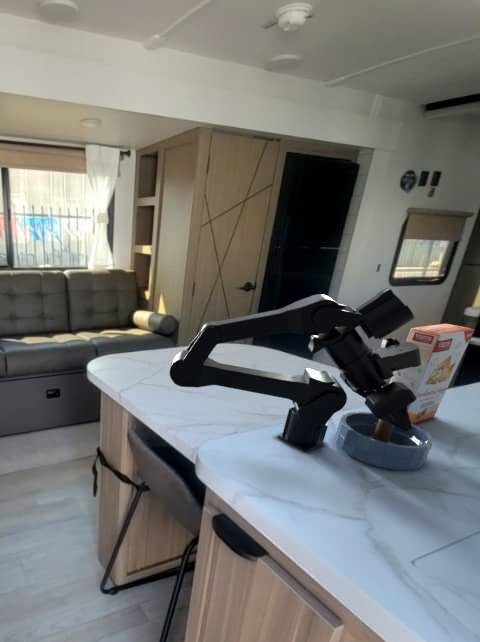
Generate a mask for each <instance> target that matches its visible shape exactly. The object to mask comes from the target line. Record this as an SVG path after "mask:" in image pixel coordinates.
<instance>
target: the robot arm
mask: <svg viewBox="0 0 480 642" xmlns="http://www.w3.org/2000/svg"><path fill="white" fill-rule="evenodd" d="M412 321H415V315H414V313H413V312H412V310H411V308H410V307H409V306H408V305H407V304H405V303H404V302H403V301H402V300H401V299H400V298H399V297H398V296H397V295H396V294H395V293H394V291H393V290H392V289H391V288H388V287H385V288H383V289H381V290H380V291H378V292H377V293H376V294H375V295H374V296H373V297H371V298H370V299H367V301H365V302H364V303H362V304H360V305H359V306H358V307H356V308H354V307H352V306H351V305H349V304H347V305H344V304H340V303H338V302H337V301H335V300H334V299H333V298H331V297H330V296H328V295H326V294H321V293H320V294H319V293H318V294H314V295H313V294H312V295H310V296H308V297H304V298H302V299H300V300H296V301H294V302H292V303H290V304H288V305H286V306H284V307H282V308H281V307H280V308H279V309H274V310H269V311H268V310H267V311H264V312H258V313H253V314H249V315H243V316H238V317H237V316H236V317H233V318H228V319H222V320H216V321H214V320H211V321H207V322H205V324H204V325H203V326H202V328H201V330H200V331H199V332H198V334H197V335H196V336H195V337H194V338H193V340H192V341H191V342H190V343H189V345H188V346H187V347H186V349H184V350H181V351H179V352H178V353H176V354H175V356H174V358H173V360H172V363H171V365H170V368H169V377H170V380H171V381H172V382H173V384H175V385H176V386H178V387H181V388H205V387H209V386H218V387H223V388H229V389H234V390H239V391H243V392H250V393H254V394H259V395H265V396H270V397H276V398H282V399H287V400H289V401H292V404H293V406H292V407H290V408H288V412H287V415H286V418H285V423H284V426H283V430H282V433H279V434H277V439H279V440H281V441H284V442H286V443H288V444H290V445H292V446H294V447H296V448H298V449H300V450H302V451H304V452H309V451H310V450H313V449H315V448H317V447H320V446H322V445H324V444H325V437H326V434H327V431H328V428H329V426H328V424H327V423H328V422H329V421H330V419H332V417H333V415H335V414H336V413H338V412H340V411H341V410H342V409H343V408H344V407H345V406H346V404H347V401H348V394H347V393H346V391H345V389H344V388H343V387H342V385H341V384H340V382H339V380H337V379H336V377H335V376H333V375H331V374H330V373H329V371H328V370H315V369H313V368H309V367H305V368H304V370H303V371H304V372H303V374H298V375H289V374H284V373H278V372H272V371H267V370H260V369H255V368H250V367H243V366H238V365H233V364H228V363H220V362H219V361H216V360H214V359H212V358H210V355H211V354H212V352H213V351H214V349H215V348H216V346H217V345H219V344H225V343H231V342H235V341H236V342H237V341H241V340H247V339H254V338H259V337H264V336H270V335H276V334H285V333H291V334H301V335H308V334H309V335H310V341H309V344H308V346H307V348H308V349H309V351H310V352H311V354H317V353H318V352H320V351H322V350H323V351H324V352H325V353H326V354H327V356H328V357H329V359H331V361H332V362H333V364H334V366H335V367H336V369H337V370H338V371H339V372H340V373H339V378H340V379H341V380H342V382H343V383H344V384H345V385H346V387H348V388H349V390H351V391H352V392H353V393H354V394H357V395H358V396H360V397H362V398H364V399H365V401H364V405H365V406H366V407H367V408H368V410H369V412H371V413H373V414H374V415H375V417H376V418H377V419H382V420H384V421H386V422H388V423H390V424H392V425H394V426H396V427H398V428H400V429H402V430H404V431H409V430H411V429H412V424H411V421H410V417H409V414H408V410H407V407H408V405H410V404H411V403H413V402H415V400H416V399H417V397H416V396H415V395H414V393H413V392H412V391H411V389H409V388H408V387H407V386H406V385H404V384H403V383H402V382H391V383H390V382H387V380H390V379H391V378H392V377H393V376H394V374H393V373H394V371H398V370H402V369H406V368H410V367H417V366H420V365H421V357H420V350H419V347H418V346H417V345H415V344H413V343H411V342H406V340H402V341H401V342H400V341H399V340H398V339H397V338H395V337H393V336H389V335H390V334H392V333H394V332H395V331H397V330H398V329H400V328H402V327H404V326H405V325H407V324H408V323H411V322H412ZM357 327H358V328H359V330H360V331H361V333H362V334H363V335H364V336H365V338H367V339H368V340H371V339H372V338H374V340H378V341H379V340H382V341H381V344H380V347H378V349H377V350H373V349H372V348H371V347H370V346H369V345H367V343H366V342H365V339H363V337H362V336H361V334H360V333H359V332H358V331H357V329H356V328H357ZM317 334H318V335H317ZM387 336H388V337H387ZM389 383H390V384H389Z"/></svg>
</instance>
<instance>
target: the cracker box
mask: <svg viewBox="0 0 480 642" xmlns="http://www.w3.org/2000/svg"><path fill="white" fill-rule="evenodd" d="M474 333H475V329H474V328H470V327H466V326H461V325H455V324H451V323H440V324H439V323H438V324H433V325H432V324H431V325H425V326H418V327H411V328H410V330H409V333H408V334H407V335H408V336H407V338H406V340H405V342H411V343H413V344H415V345H417V346H418V347H419V350H420V357H421V365H420V366H417V367H410V368H406V369H402V370H398V371H393V372H392V373H393V374H394V376H393V377H391V378H390V381H389V382H388V384H390V383H391V382H402V383H403V384H404V385H406V386H407V387H408V388H409V389H411V391H412V392H413V393H414V395H415V396H416V397H417V399H416V400H415V402H413V403H411V404H410V405H408V407H407V410H408V414H409V417H410V421H411V423H412V424H416V423H419V422H422V421H425V420H429V419H432V418H434V417H435V415H436V414H437V411H438V409H439V407H440V405H441V403H442V400H443V398H444V396H445V395H446V392H447V390H448V388H449V385H450V384H451V381H452V380H453V377H454V375H455V373H456V370H457V368H458V366H459V364H460V362H461V360H462V358H463V356H464V354H465V351H466V349H467V347H468V345H469V343H470V340H471V338H472V336H473V334H474Z"/></svg>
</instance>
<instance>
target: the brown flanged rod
mask: <svg viewBox="0 0 480 642" xmlns="http://www.w3.org/2000/svg"><path fill="white" fill-rule="evenodd" d="M393 429H394V425H392V424H390V423H388V422H386V421H384V420H382V419H379V422H378V424H377V427H376V429H375V432H374V435H373V436H368V437H370V438H372V439H375V440H379V441H382V442H386V443H390V444H393V443H392V442H390V441H389V439H390V436H391V434H392V431H393Z"/></svg>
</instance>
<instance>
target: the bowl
mask: <svg viewBox="0 0 480 642" xmlns="http://www.w3.org/2000/svg"><path fill="white" fill-rule="evenodd" d="M378 422H379V419H377V418H376V417H375V415H374V414H373V413H372V412H371V411H352V412H348V413H347V412H346V413H344V414H343V415H342V416H341V418H340V419H339V423H338V426H337V429H336V432H335V436H334V441H335V444H336V445H337V446H338V447H339V449H341V450H342V451H343V452H344V453H345V454H347V455H348V456H350V457H351V458H353V459H354V460H355V459H356V460H357V461H360V462H362V463H364V464H367V465H371V466H373V467H378V468H382V469H387V470H392V471H393V470H394V471H408V470H414V469H418V468H419V467H421V466H423V465H424V463H425V462H426V460H427V458H428V455H429V452H430V450H431V448H432V446H433V443H434V438H433V436H431V434H430V433H429V432H428V431H426V430H425V429H424V428H422V427H420V426H418V425H416V424H415V423H413V424H412V423H411V424H412V429H411V430H409V431H404V430H402V429H400V428H398V427H396V426H394V429H393V431H392V434H391V436H390V439H389V441H390V442H392V443H393V444H390V443H386V442H382V441H379V440H375V439H372V438H370V437H368V436H373V435H374V432H375V429H376V427H377V424H378Z"/></svg>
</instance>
